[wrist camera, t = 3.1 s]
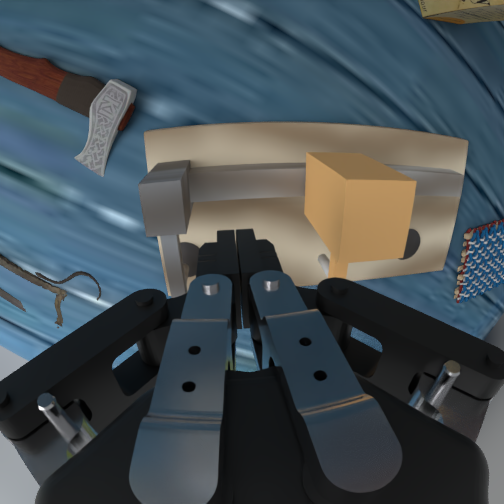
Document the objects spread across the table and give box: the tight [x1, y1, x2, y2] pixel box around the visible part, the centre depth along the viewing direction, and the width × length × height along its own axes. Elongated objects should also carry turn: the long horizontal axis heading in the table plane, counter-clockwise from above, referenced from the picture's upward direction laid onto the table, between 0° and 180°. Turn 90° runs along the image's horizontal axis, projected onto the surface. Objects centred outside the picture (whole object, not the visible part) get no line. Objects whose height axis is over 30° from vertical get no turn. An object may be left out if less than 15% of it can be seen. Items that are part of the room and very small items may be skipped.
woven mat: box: [454, 219, 504, 303], centre depth 30 cm, size 10×11×2 cm
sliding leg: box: [304, 152, 417, 279], centre depth 19 cm, size 9×4×8 cm, turn 1°
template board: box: [138, 122, 468, 298], centre depth 22 cm, size 14×28×7 cm, turn 91°
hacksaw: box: [0, 255, 101, 328], centre depth 24 cm, size 24×10×2 cm, turn 55°
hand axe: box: [0, 47, 137, 177], centre depth 17 cm, size 27×2×10 cm
